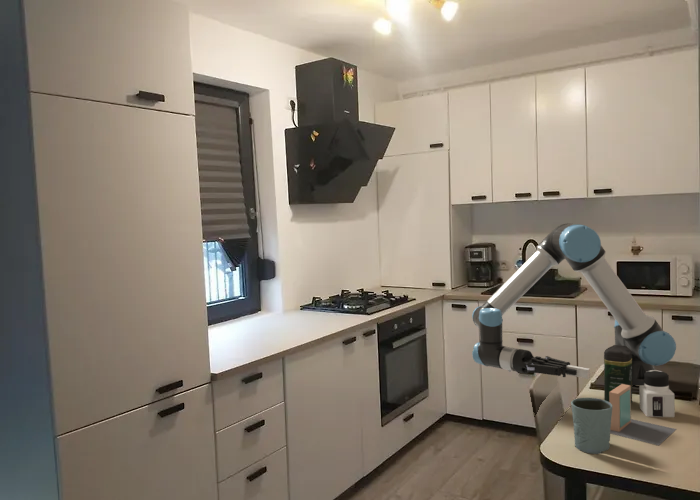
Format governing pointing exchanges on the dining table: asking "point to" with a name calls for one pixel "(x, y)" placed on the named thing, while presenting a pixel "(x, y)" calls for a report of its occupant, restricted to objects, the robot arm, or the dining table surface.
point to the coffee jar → (617, 368)
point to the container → (656, 395)
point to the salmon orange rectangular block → (620, 407)
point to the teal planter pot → (592, 424)
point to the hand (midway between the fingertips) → (588, 373)
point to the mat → (645, 432)
